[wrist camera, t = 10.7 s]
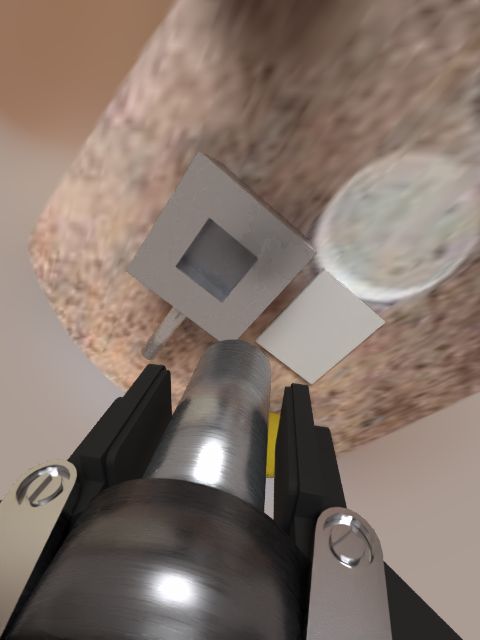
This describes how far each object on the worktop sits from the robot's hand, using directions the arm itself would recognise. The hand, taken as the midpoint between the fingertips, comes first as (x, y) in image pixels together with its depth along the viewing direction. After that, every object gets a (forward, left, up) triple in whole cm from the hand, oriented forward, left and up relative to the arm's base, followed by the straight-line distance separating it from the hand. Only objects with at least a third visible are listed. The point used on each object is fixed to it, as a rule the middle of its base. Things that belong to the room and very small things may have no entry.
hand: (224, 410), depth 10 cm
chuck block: (+4, -4, -19) cm, 20 cm away
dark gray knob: (0, 0, -2) cm, 3 cm away
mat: (+1, +8, -19) cm, 21 cm away
